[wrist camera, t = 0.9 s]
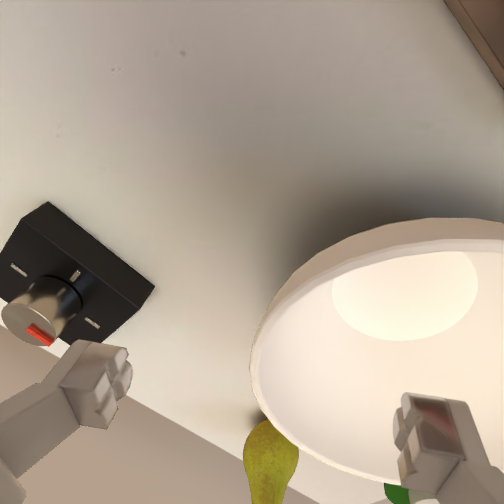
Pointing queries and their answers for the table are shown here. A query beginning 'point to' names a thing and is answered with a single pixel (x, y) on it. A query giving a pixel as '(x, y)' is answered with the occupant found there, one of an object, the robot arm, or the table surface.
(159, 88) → the table surface
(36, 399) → the robot arm
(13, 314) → the dimmer knob
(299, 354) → the bowl
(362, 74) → the table surface
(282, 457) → the fruit
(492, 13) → the lamp switch
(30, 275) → the dimmer panel
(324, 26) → the table surface
